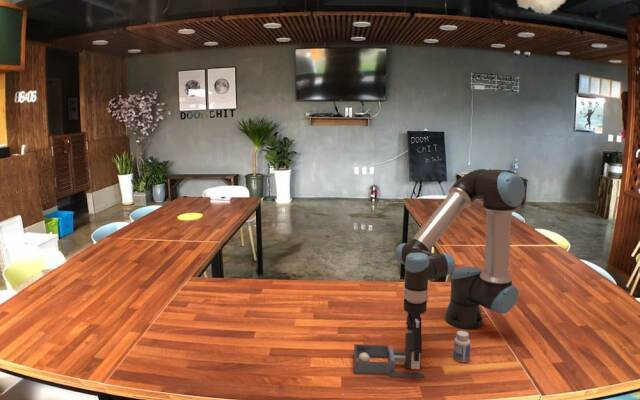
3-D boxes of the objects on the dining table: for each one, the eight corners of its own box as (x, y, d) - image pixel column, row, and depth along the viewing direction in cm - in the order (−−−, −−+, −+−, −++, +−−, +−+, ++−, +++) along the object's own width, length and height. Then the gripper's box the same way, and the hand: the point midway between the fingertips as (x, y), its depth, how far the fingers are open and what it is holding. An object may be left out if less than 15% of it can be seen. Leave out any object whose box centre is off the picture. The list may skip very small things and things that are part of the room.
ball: (364, 362, 156) (371, 355, 155) (364, 369, 152) (372, 361, 151) (355, 356, 156) (363, 348, 155) (355, 362, 152) (363, 354, 151)
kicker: (417, 358, 157) (419, 329, 155) (421, 372, 148) (423, 342, 146) (388, 357, 158) (389, 328, 155) (390, 371, 149) (392, 341, 147)
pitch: (418, 355, 159) (418, 345, 159) (424, 378, 146) (424, 367, 145) (353, 352, 161) (354, 342, 160) (354, 375, 147) (354, 364, 146)
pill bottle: (466, 354, 160) (467, 329, 158) (471, 362, 155) (473, 337, 153) (451, 354, 160) (452, 329, 158) (456, 363, 155) (457, 337, 153)
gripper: (400, 284, 160) (397, 338, 165) (408, 315, 136) (405, 378, 140) (421, 285, 160) (418, 339, 164) (433, 316, 136) (429, 379, 140)
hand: (412, 357), depth 152 cm, fingers open, 13 cm apart
